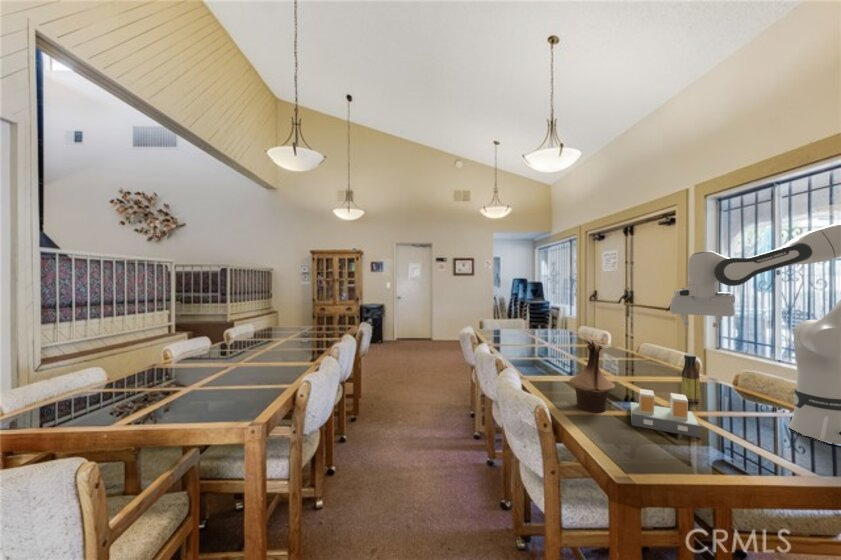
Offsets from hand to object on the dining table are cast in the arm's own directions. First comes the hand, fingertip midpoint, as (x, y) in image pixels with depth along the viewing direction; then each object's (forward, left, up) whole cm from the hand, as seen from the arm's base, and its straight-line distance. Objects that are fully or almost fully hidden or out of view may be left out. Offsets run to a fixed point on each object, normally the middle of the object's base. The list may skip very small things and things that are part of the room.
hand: (700, 326), depth 143 cm
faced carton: (+19, +19, -31) cm, 41 cm away
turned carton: (+9, +19, -31) cm, 37 cm away
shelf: (+14, +20, -34) cm, 42 cm away
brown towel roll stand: (+38, +18, -34) cm, 54 cm away
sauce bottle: (+1, -12, -34) cm, 36 cm away
